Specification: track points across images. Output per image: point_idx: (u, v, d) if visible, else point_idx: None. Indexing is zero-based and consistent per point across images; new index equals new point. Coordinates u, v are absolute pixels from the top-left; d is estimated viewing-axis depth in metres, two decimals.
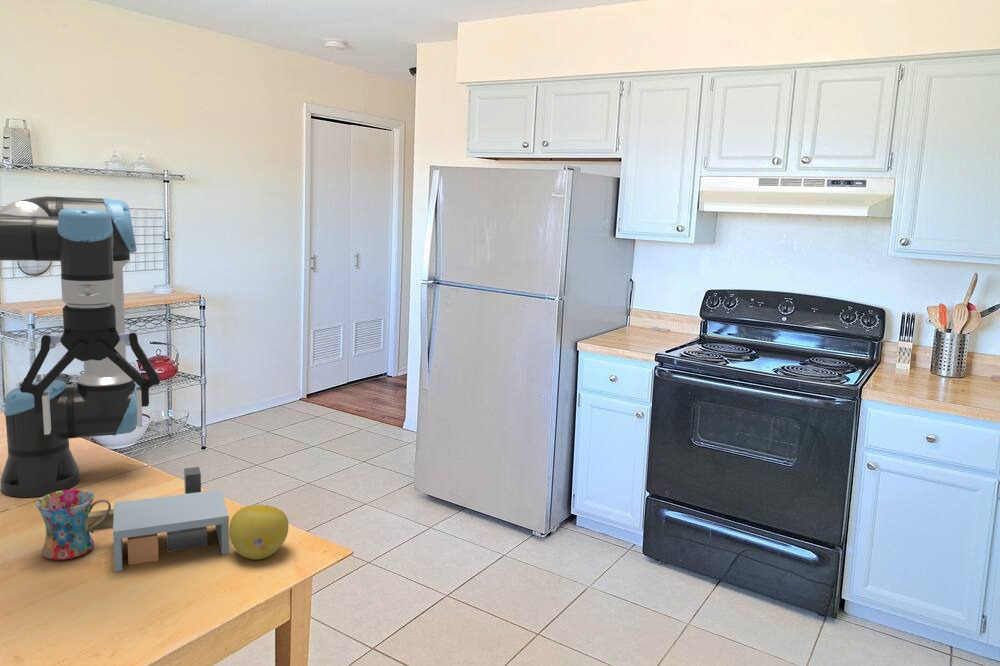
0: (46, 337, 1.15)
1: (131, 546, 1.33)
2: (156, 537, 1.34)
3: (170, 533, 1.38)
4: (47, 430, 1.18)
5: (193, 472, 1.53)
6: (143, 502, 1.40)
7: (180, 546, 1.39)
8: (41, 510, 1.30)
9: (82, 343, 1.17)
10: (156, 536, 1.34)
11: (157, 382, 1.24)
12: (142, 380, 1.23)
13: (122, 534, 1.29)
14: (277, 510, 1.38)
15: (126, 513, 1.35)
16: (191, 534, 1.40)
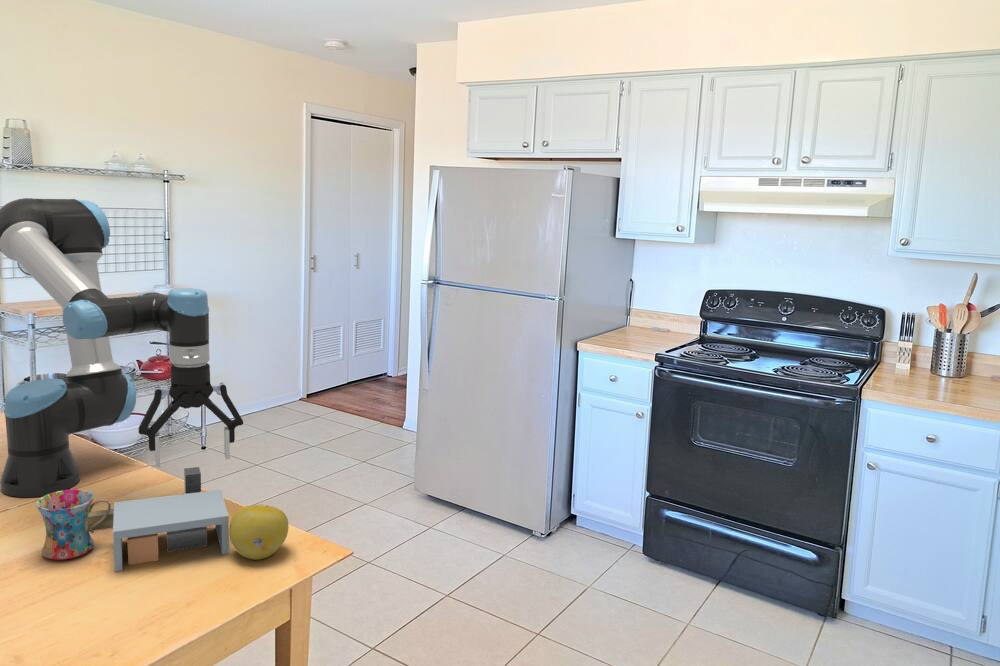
0: (159, 391, 1.47)
1: (131, 546, 1.33)
2: (156, 537, 1.34)
3: (170, 533, 1.38)
4: (158, 463, 1.49)
5: (193, 472, 1.53)
6: (143, 502, 1.40)
7: (180, 546, 1.39)
8: (41, 510, 1.30)
9: (186, 394, 1.49)
10: (156, 536, 1.34)
11: (241, 423, 1.56)
12: (230, 422, 1.55)
13: (122, 534, 1.29)
14: (277, 510, 1.38)
15: (126, 513, 1.35)
16: (191, 534, 1.40)
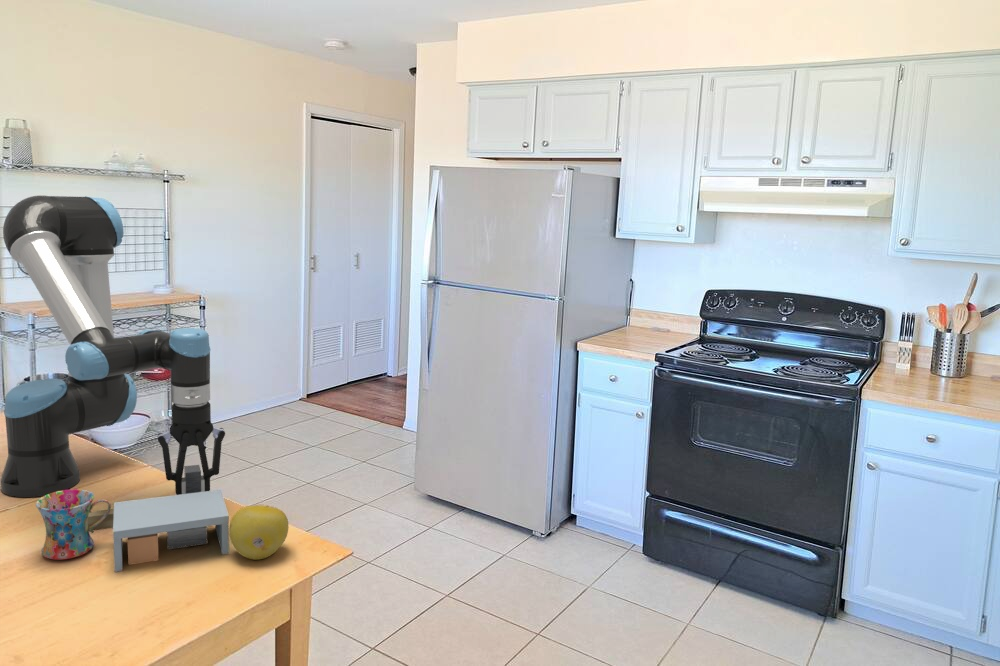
0: (161, 438, 1.49)
1: (131, 546, 1.33)
2: (156, 537, 1.34)
3: None
4: None
5: (193, 470, 1.53)
6: (143, 502, 1.40)
7: (180, 544, 1.39)
8: (41, 510, 1.30)
9: (185, 433, 1.50)
10: (156, 536, 1.34)
11: (216, 473, 1.55)
12: (208, 471, 1.55)
13: (122, 534, 1.29)
14: (277, 510, 1.38)
15: (126, 513, 1.35)
16: (191, 532, 1.40)
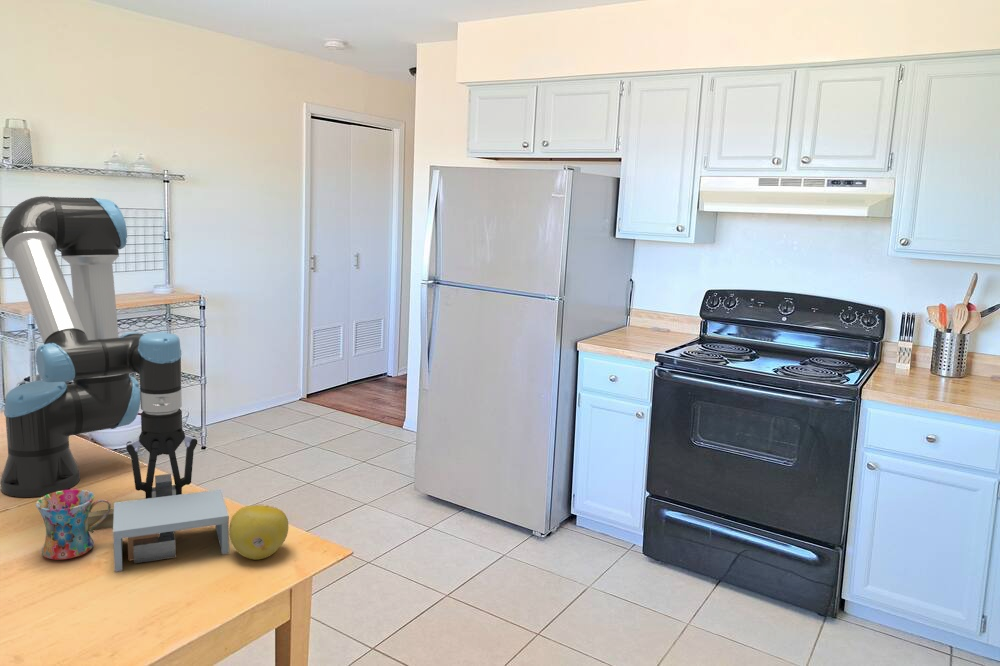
0: (129, 446, 1.43)
1: (131, 541, 1.34)
2: None
3: (137, 544, 1.33)
4: None
5: (164, 480, 1.48)
6: (143, 502, 1.40)
7: (147, 558, 1.34)
8: (41, 510, 1.30)
9: (155, 442, 1.45)
10: None
11: (188, 483, 1.50)
12: (179, 481, 1.49)
13: (122, 534, 1.29)
14: (277, 510, 1.38)
15: (126, 513, 1.35)
16: (159, 545, 1.34)
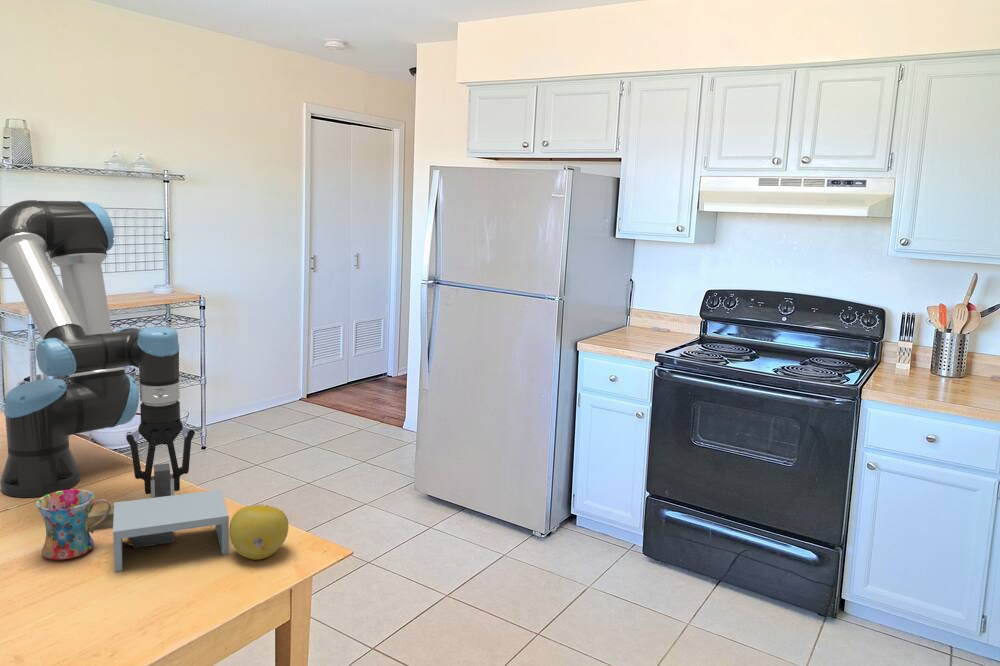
0: (129, 436, 1.49)
1: None
2: None
3: None
4: None
5: (163, 469, 1.53)
6: (143, 502, 1.40)
7: (146, 542, 1.39)
8: (41, 510, 1.30)
9: (154, 432, 1.50)
10: None
11: (186, 472, 1.55)
12: (177, 470, 1.55)
13: (122, 534, 1.29)
14: (277, 510, 1.38)
15: (126, 513, 1.35)
16: None
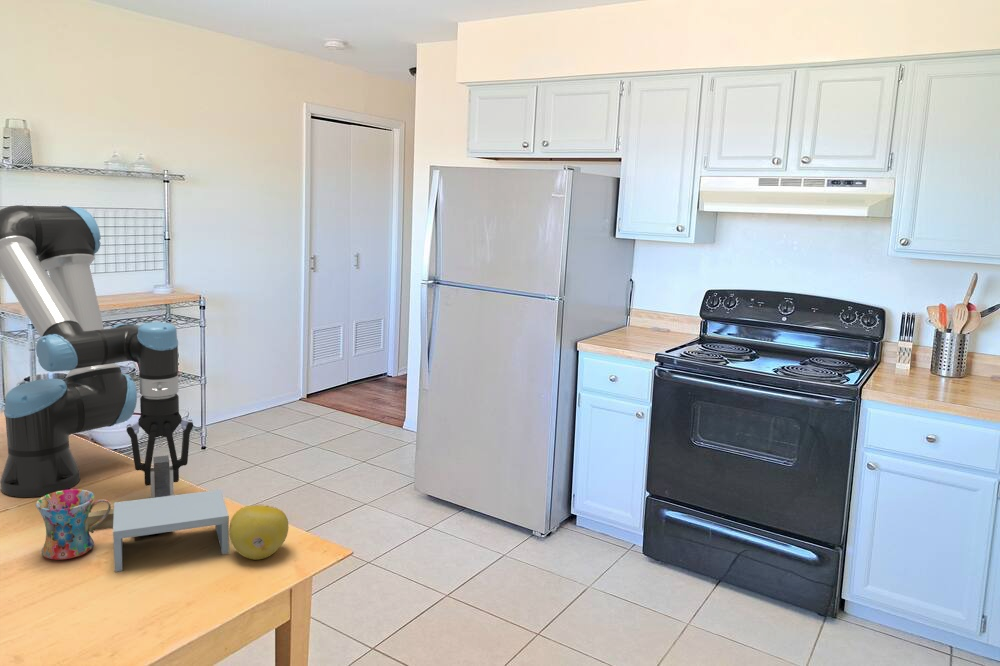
0: (129, 429, 1.53)
1: None
2: None
3: None
4: (153, 497, 1.58)
5: (162, 460, 1.57)
6: (143, 502, 1.40)
7: None
8: (41, 510, 1.30)
9: (153, 425, 1.54)
10: None
11: (185, 464, 1.59)
12: (176, 462, 1.59)
13: (122, 534, 1.29)
14: (277, 510, 1.38)
15: (126, 513, 1.35)
16: None
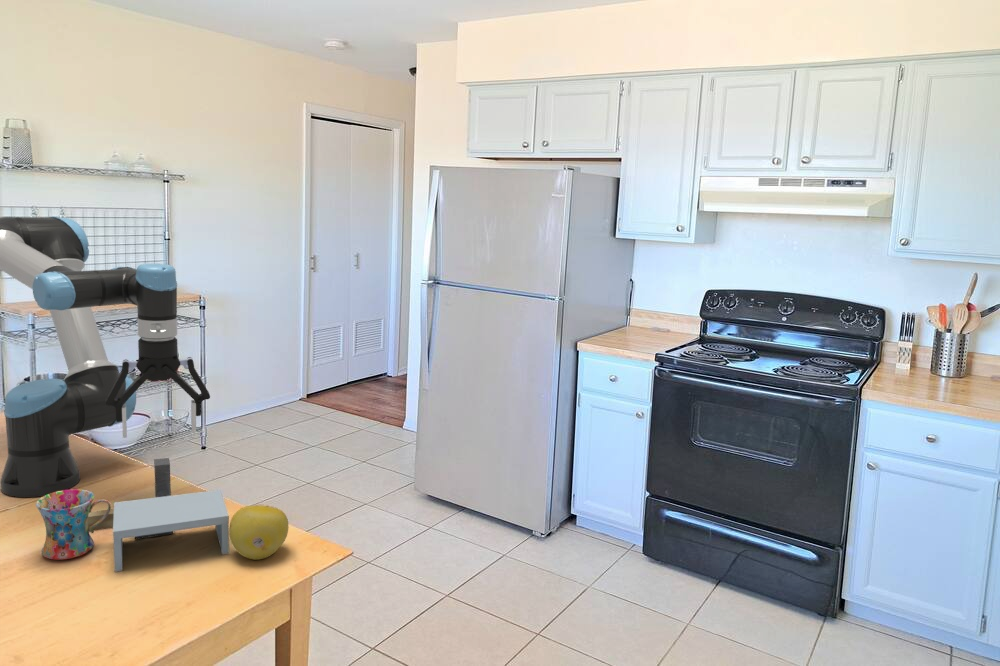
0: (126, 363, 1.50)
1: None
2: None
3: None
4: (125, 434, 1.53)
5: (163, 463, 1.57)
6: (143, 502, 1.40)
7: None
8: (41, 510, 1.30)
9: (153, 367, 1.52)
10: None
11: (208, 397, 1.59)
12: (196, 395, 1.58)
13: (122, 534, 1.29)
14: (277, 510, 1.38)
15: (126, 513, 1.35)
16: None
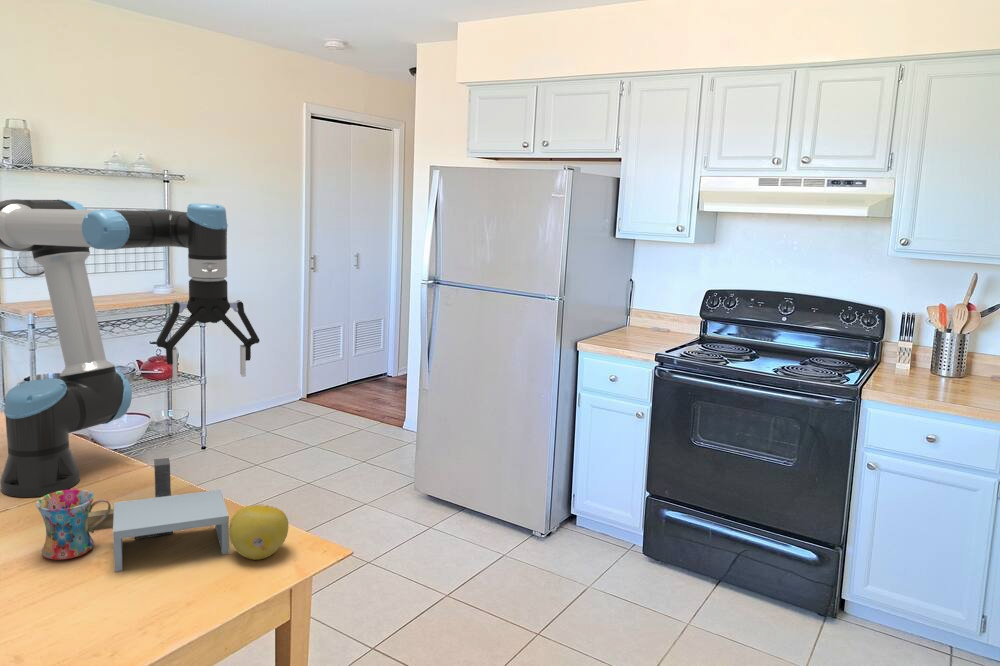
0: (177, 304, 1.48)
1: None
2: None
3: None
4: (175, 377, 1.51)
5: (163, 463, 1.57)
6: (143, 502, 1.40)
7: None
8: (41, 510, 1.30)
9: (203, 309, 1.50)
10: None
11: (257, 341, 1.57)
12: (246, 339, 1.56)
13: (122, 534, 1.29)
14: (277, 510, 1.38)
15: (126, 513, 1.35)
16: None
